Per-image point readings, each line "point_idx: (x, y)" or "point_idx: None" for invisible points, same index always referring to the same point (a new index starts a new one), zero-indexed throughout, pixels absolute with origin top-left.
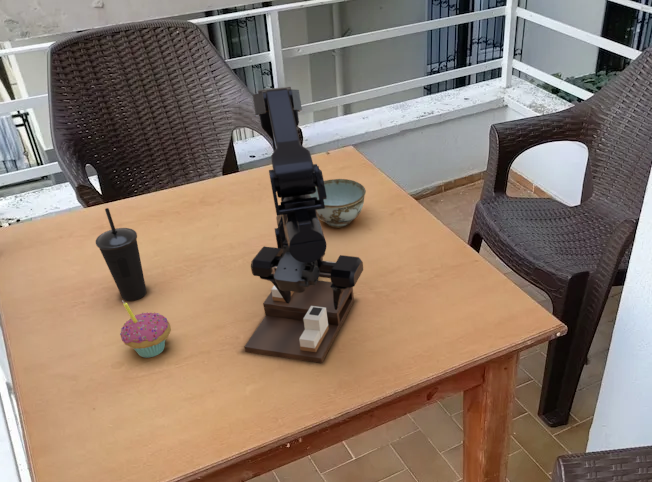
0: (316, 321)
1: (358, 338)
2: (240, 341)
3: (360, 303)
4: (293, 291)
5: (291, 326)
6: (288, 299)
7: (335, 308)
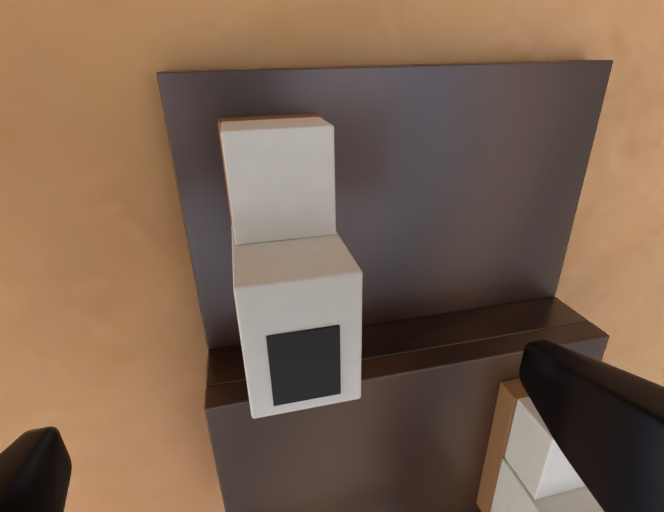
0: (252, 279)
1: (80, 316)
2: (616, 128)
3: (207, 489)
4: (491, 448)
5: (427, 271)
6: (551, 374)
7: (28, 442)
